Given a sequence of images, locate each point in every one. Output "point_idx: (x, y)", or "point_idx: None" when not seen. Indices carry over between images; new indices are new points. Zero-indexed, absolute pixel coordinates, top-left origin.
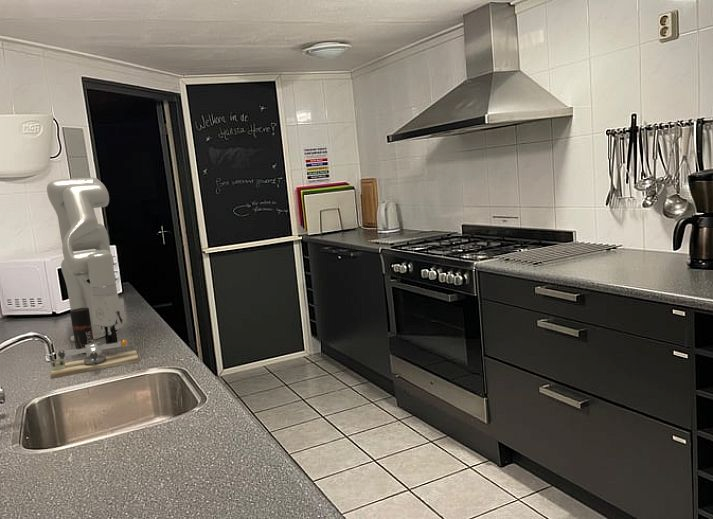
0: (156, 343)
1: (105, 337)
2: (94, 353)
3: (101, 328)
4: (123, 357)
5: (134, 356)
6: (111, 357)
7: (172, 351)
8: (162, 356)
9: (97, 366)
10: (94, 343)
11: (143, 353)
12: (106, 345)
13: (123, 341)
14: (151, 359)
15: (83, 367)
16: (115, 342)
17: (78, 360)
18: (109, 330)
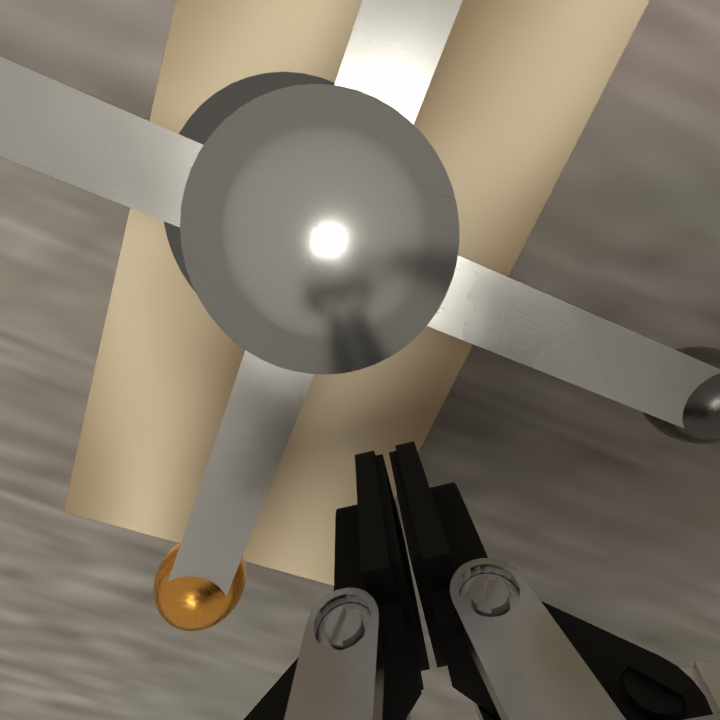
0: (451, 714)
1: (433, 522)
2: None
3: (652, 669)
4: (210, 451)
5: (150, 513)
6: (322, 391)
7: (147, 699)
8: (79, 628)
9: None
10: (325, 280)
11: (294, 590)
12: (226, 407)
13: (158, 596)
14: (68, 563)
15: (217, 33)
16: (220, 527)
17: (576, 137)
18: (313, 696)
